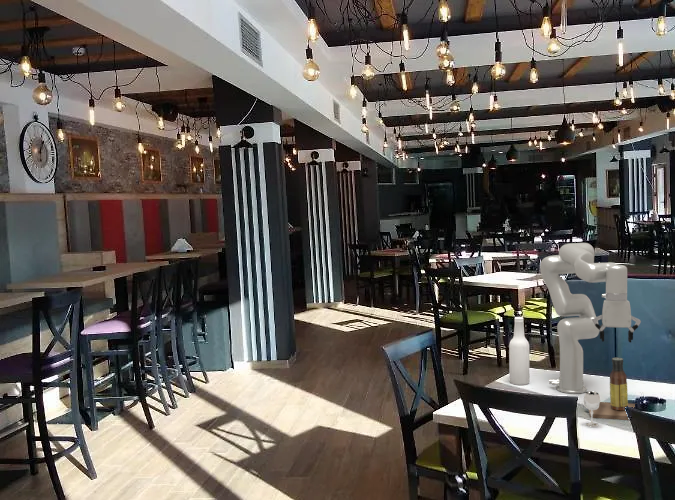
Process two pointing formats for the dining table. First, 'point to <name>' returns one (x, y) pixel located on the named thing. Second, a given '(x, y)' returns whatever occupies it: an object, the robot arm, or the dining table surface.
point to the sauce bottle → (618, 386)
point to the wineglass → (591, 404)
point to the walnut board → (609, 412)
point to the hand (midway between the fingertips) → (616, 341)
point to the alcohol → (519, 355)
